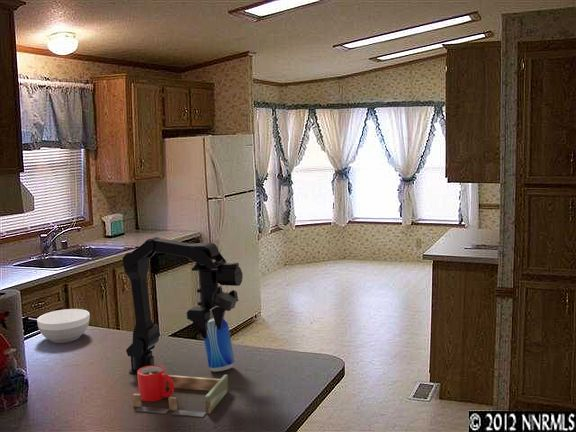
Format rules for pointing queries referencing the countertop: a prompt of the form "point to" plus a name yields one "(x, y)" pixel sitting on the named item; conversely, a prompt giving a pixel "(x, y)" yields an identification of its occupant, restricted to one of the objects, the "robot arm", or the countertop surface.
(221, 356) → the beer can
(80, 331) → the bowl
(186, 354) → the countertop surface
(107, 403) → the countertop surface
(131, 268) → the robot arm
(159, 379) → the mug
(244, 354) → the countertop surface
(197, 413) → the wooden box
